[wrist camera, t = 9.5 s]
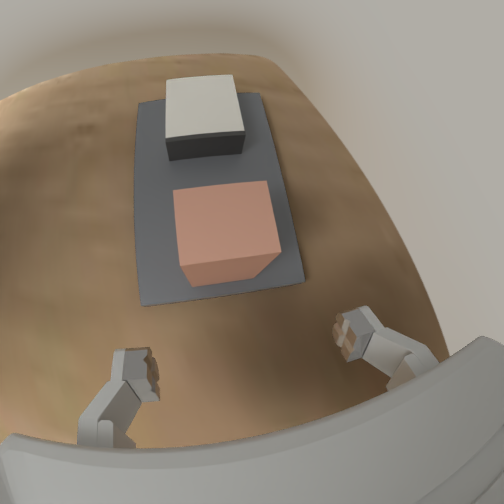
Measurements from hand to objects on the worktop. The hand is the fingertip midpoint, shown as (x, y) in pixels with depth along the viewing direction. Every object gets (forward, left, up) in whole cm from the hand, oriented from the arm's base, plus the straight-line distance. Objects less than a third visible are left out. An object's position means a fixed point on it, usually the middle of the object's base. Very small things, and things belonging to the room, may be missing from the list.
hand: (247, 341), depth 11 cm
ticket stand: (0, +14, -12) cm, 19 cm away
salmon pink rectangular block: (0, +6, -10) cm, 12 cm away
